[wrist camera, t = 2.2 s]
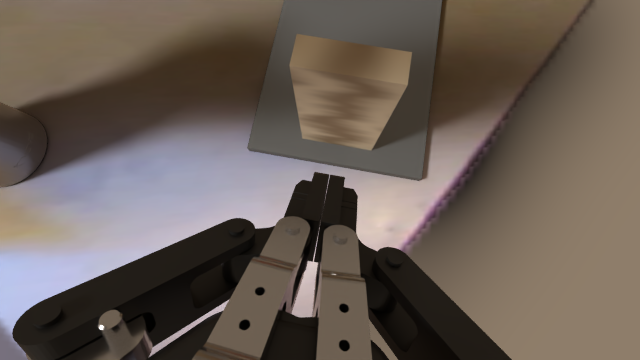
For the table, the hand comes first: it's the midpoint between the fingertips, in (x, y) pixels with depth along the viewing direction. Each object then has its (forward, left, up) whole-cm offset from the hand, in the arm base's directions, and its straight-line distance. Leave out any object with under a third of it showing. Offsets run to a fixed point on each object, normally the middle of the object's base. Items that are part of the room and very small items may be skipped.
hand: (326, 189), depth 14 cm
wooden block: (0, +10, -17) cm, 20 cm away
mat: (0, +19, -18) cm, 27 cm away
